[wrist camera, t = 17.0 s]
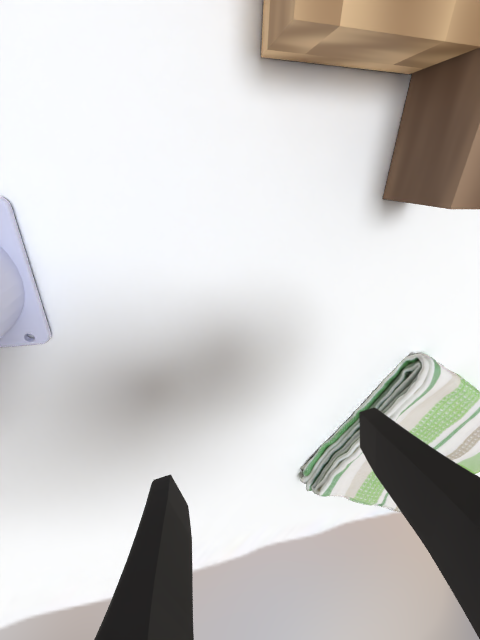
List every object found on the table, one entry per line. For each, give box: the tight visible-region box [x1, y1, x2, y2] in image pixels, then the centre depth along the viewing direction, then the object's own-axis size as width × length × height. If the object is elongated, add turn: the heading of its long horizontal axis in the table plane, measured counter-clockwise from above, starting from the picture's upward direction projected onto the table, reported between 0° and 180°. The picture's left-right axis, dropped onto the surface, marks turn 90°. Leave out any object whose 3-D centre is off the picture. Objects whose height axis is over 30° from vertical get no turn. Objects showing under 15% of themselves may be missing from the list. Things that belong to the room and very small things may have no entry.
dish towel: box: [301, 353, 480, 512], centre depth 31 cm, size 17×23×4 cm
